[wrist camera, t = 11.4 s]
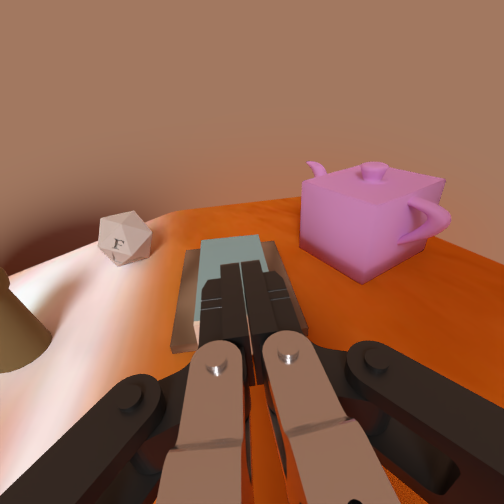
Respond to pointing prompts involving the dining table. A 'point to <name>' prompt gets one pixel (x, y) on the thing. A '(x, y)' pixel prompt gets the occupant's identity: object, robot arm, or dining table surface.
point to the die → (124, 238)
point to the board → (185, 309)
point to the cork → (18, 331)
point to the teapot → (369, 217)
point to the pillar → (225, 253)
